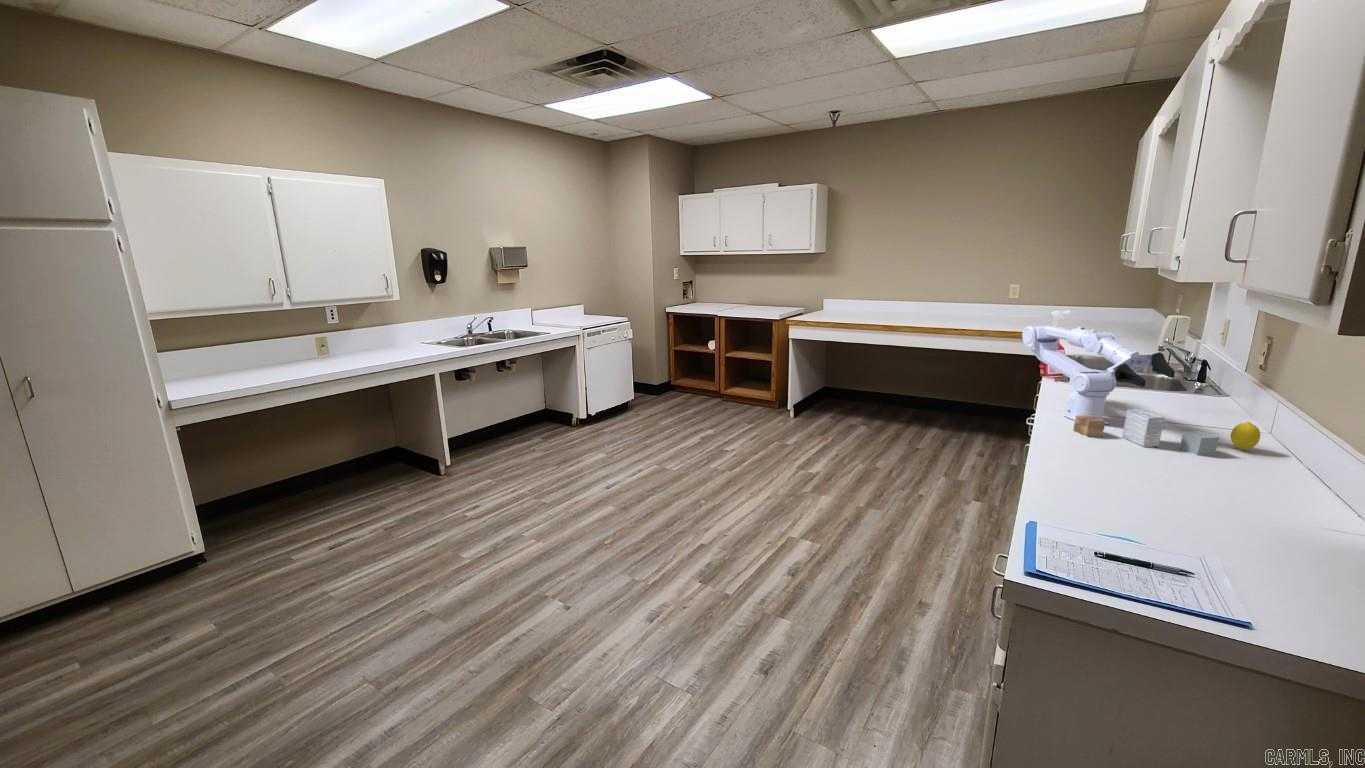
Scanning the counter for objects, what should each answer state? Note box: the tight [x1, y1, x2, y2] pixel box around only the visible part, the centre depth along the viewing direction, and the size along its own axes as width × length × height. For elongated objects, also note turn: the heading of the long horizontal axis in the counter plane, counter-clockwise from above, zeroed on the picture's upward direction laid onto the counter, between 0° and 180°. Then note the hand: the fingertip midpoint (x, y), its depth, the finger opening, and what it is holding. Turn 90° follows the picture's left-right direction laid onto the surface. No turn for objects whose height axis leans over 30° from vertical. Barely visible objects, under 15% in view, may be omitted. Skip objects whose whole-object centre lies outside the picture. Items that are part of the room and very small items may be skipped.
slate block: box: [1179, 430, 1220, 456], centre depth 148 cm, size 5×5×5 cm
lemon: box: [1230, 421, 1261, 451], centre depth 148 cm, size 6×6×8 cm
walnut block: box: [1072, 415, 1106, 437], centre depth 162 cm, size 5×5×5 cm
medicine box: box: [1121, 408, 1165, 448], centre depth 154 cm, size 8×4×9 cm, turn 179°
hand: (1158, 379), depth 149 cm, fingers open, 7 cm apart
